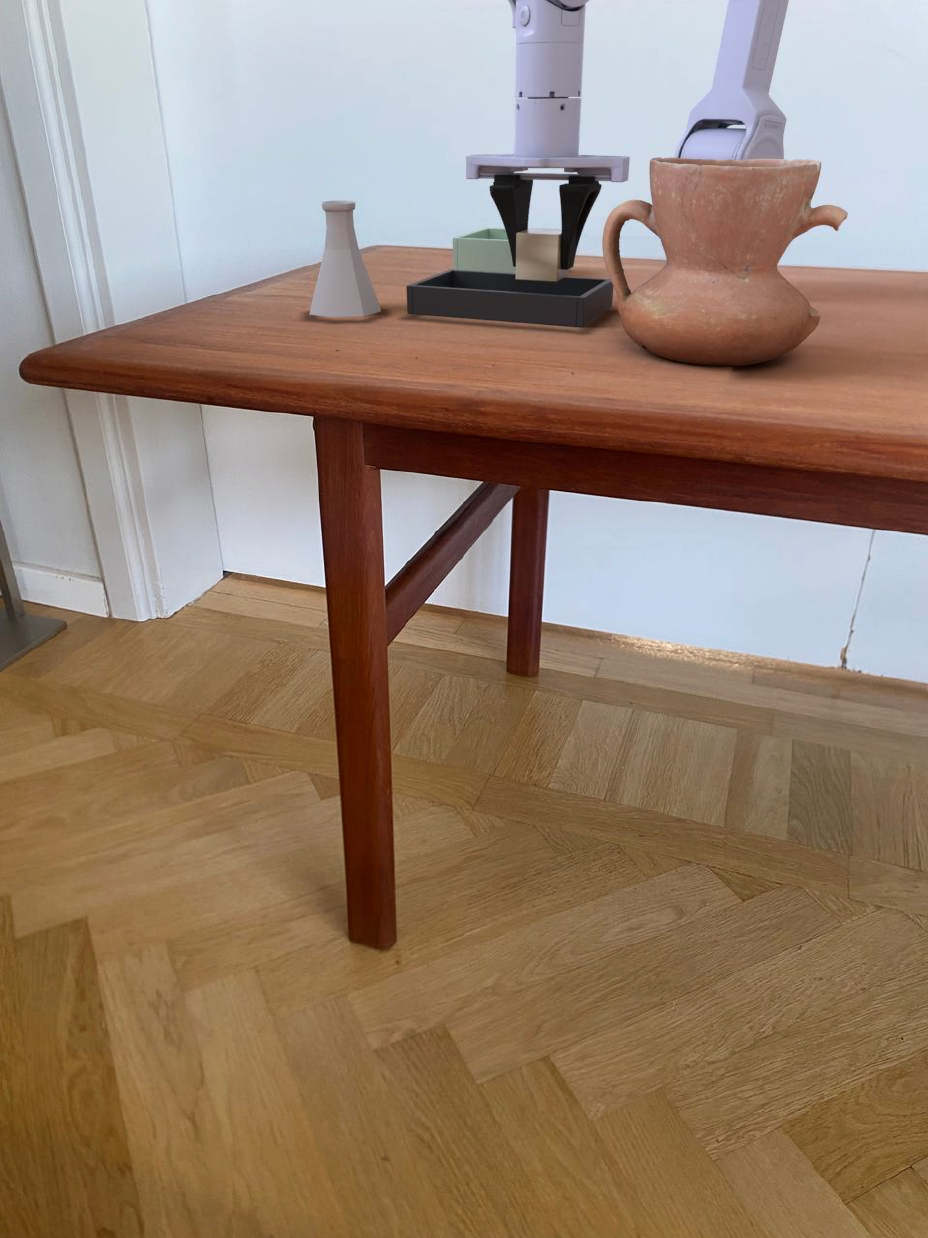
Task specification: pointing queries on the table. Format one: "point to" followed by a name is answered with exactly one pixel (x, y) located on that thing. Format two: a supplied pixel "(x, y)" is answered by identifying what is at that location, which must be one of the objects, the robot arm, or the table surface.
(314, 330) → the table surface
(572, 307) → the pan
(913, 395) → the table surface
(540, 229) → the block
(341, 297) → the flask
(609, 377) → the table surface
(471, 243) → the bin
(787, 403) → the table surface
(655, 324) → the ceramic jug
